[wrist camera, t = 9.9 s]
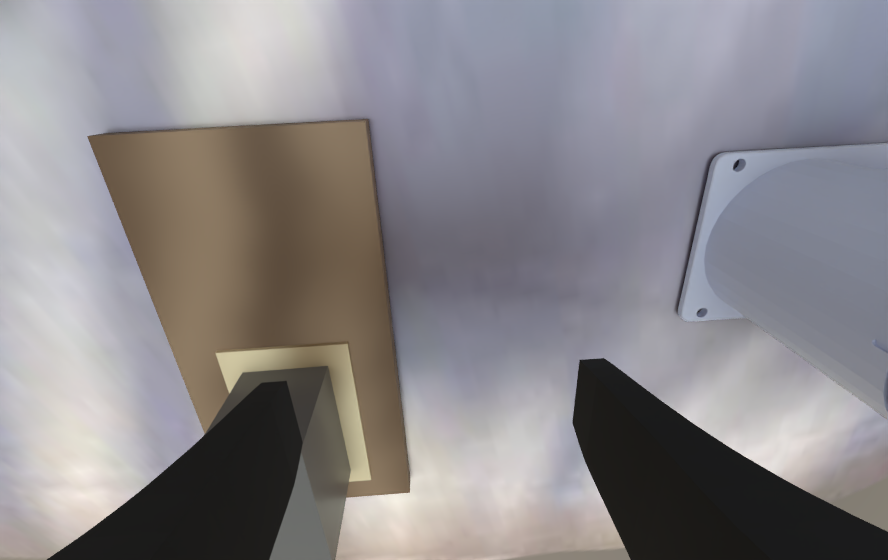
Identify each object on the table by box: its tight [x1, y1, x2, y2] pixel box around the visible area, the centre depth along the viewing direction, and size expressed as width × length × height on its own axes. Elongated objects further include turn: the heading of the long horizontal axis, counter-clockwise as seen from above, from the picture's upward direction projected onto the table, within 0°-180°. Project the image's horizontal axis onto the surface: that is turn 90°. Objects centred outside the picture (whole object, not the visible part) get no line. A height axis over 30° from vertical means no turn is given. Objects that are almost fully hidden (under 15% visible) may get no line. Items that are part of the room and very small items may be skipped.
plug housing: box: [205, 366, 351, 560], centre depth 19 cm, size 4×7×5 cm, turn 3°
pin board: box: [87, 119, 410, 497], centre depth 19 cm, size 10×20×3 cm, turn 3°
